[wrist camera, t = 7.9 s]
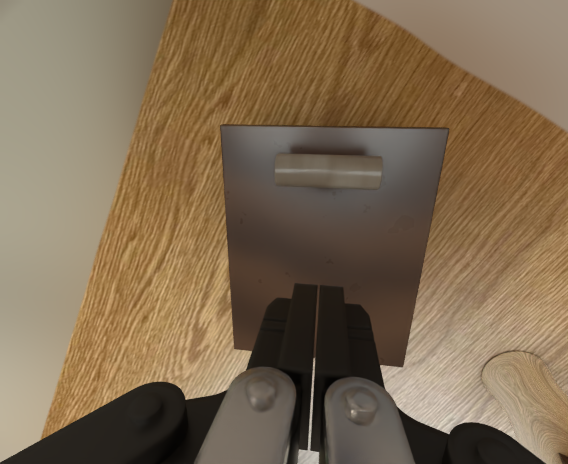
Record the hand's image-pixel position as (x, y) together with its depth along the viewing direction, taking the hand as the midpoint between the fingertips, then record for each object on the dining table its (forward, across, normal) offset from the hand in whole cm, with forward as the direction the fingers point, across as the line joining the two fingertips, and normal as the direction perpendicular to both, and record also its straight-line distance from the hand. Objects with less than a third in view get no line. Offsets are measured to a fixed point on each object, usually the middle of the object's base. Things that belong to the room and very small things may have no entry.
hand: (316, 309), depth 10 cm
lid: (+11, 0, +3) cm, 11 cm away
